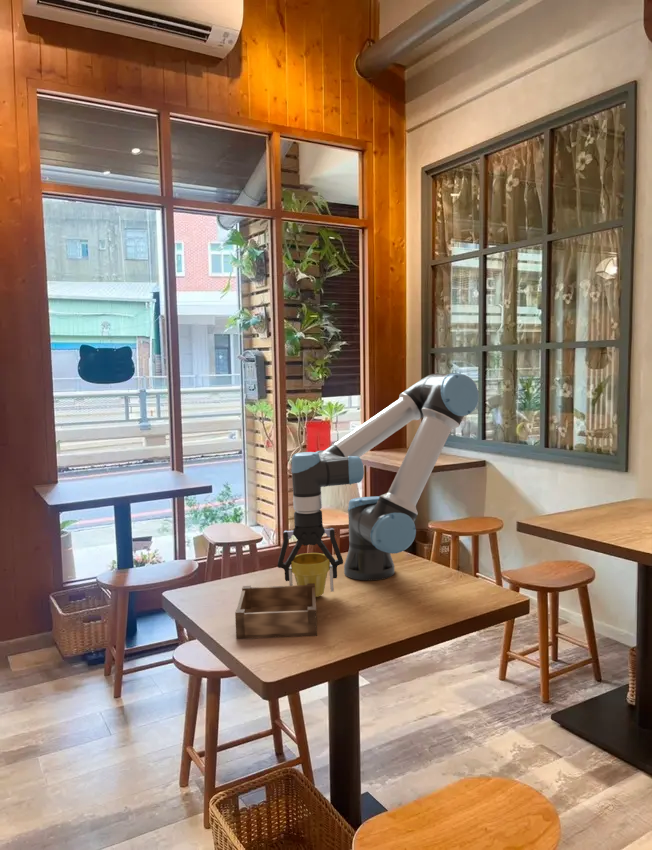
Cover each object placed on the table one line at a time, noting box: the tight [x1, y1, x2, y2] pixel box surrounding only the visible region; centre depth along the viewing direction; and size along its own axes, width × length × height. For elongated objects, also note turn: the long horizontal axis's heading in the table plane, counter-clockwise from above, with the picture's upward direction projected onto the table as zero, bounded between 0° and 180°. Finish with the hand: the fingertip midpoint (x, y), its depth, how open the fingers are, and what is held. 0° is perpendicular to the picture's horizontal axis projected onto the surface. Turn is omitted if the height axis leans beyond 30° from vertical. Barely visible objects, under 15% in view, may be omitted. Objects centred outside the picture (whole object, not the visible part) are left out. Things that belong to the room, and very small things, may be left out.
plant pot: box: [290, 552, 331, 598], centre depth 174 cm, size 10×10×10 cm
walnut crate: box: [234, 583, 318, 640], centre depth 158 cm, size 19×19×6 cm
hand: (311, 591), depth 174 cm, fingers closed on plant pot, 10 cm apart
